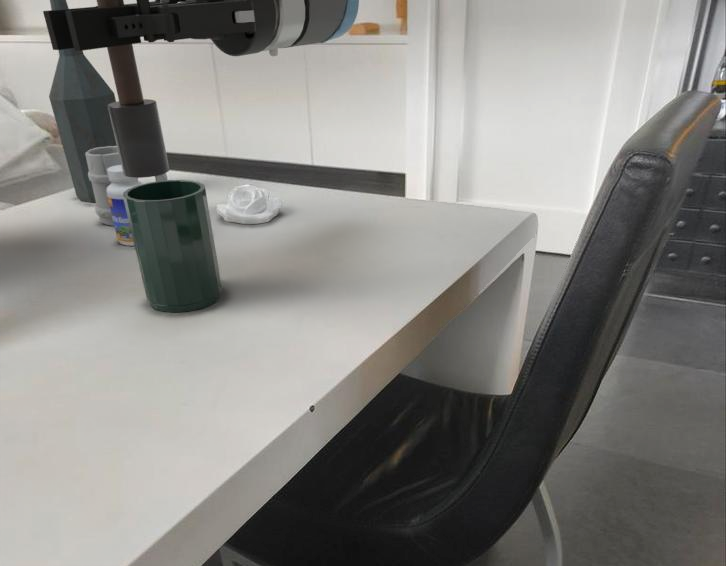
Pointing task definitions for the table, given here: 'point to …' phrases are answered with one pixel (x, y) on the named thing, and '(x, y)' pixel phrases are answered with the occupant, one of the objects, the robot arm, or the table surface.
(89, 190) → the bottle
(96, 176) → the mug
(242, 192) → the rose
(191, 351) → the table surface
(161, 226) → the dark green pencil cup
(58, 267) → the table surface
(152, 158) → the brush
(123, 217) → the pill bottle
